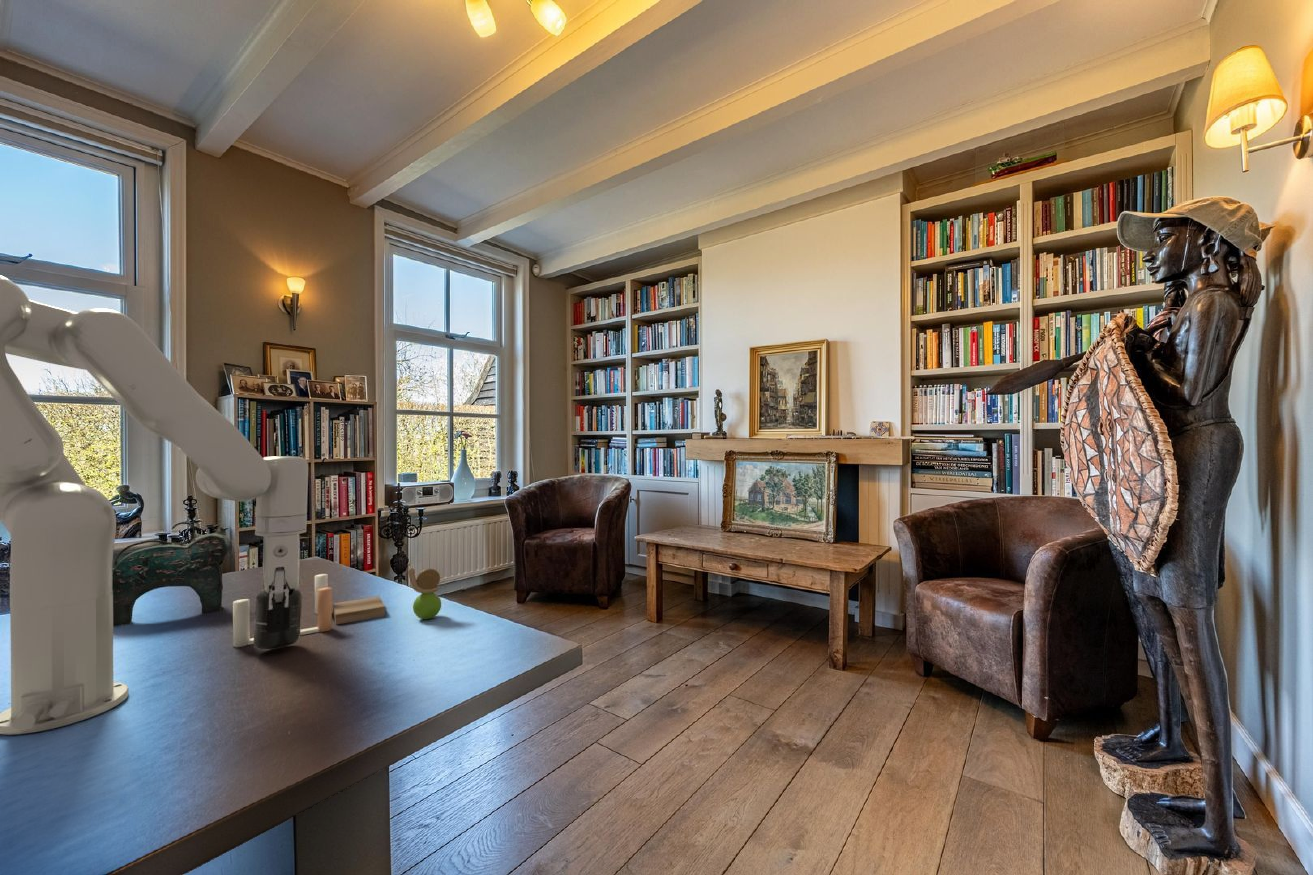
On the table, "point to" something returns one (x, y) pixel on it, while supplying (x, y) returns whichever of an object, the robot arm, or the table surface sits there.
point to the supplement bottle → (283, 637)
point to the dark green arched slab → (170, 571)
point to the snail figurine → (425, 592)
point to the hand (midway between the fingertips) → (278, 624)
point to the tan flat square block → (358, 610)
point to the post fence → (324, 624)
